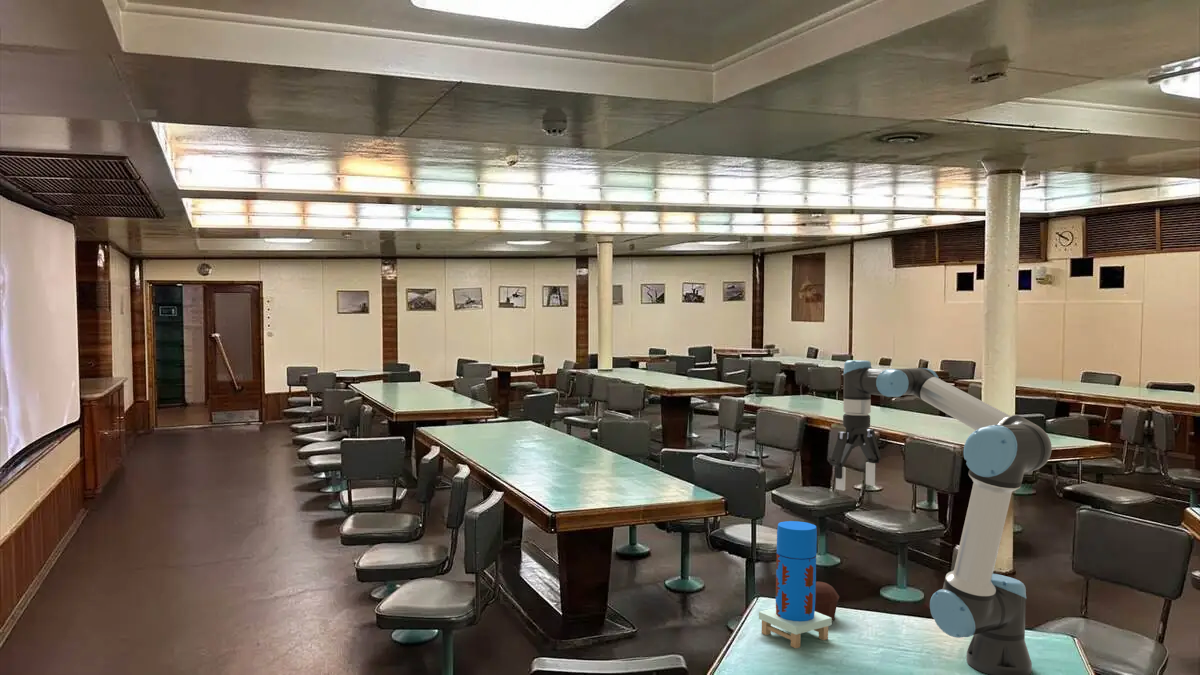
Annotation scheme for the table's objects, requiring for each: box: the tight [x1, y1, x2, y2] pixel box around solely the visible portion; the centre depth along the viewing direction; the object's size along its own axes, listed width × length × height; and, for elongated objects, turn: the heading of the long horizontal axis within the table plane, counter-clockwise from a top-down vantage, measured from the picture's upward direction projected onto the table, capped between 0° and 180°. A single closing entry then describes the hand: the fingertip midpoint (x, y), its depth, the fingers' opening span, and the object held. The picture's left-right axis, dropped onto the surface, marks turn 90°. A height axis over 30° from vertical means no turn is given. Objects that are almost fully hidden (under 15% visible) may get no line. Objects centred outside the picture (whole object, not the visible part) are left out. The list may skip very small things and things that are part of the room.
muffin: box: [815, 580, 840, 621], centre depth 249 cm, size 12×11×10 cm
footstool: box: [758, 607, 833, 649], centre depth 233 cm, size 14×14×6 cm
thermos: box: [775, 520, 818, 621], centre depth 232 cm, size 11×11×25 cm
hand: (855, 487), depth 240 cm, fingers open, 13 cm apart
